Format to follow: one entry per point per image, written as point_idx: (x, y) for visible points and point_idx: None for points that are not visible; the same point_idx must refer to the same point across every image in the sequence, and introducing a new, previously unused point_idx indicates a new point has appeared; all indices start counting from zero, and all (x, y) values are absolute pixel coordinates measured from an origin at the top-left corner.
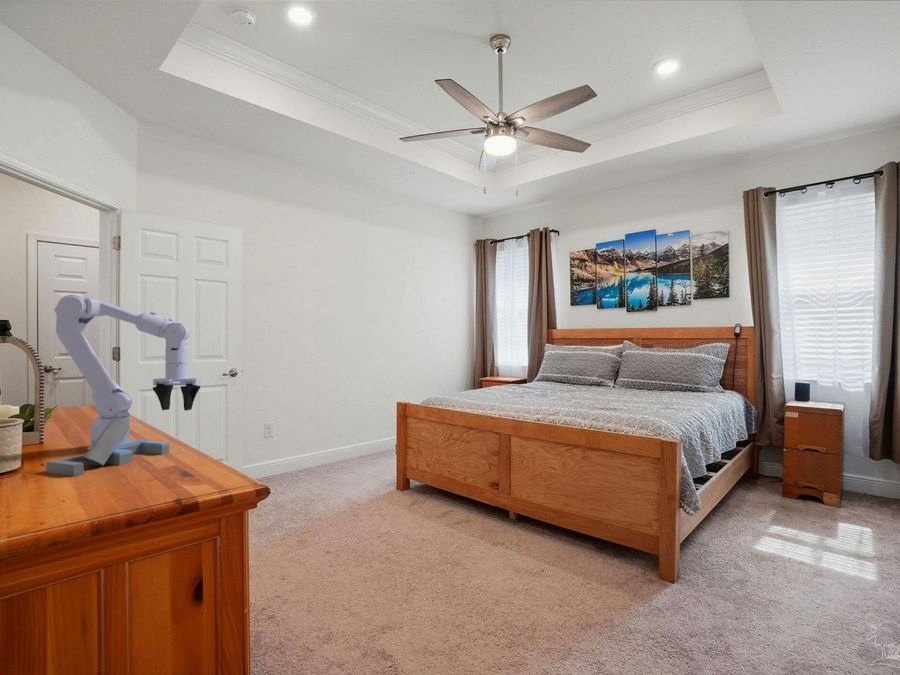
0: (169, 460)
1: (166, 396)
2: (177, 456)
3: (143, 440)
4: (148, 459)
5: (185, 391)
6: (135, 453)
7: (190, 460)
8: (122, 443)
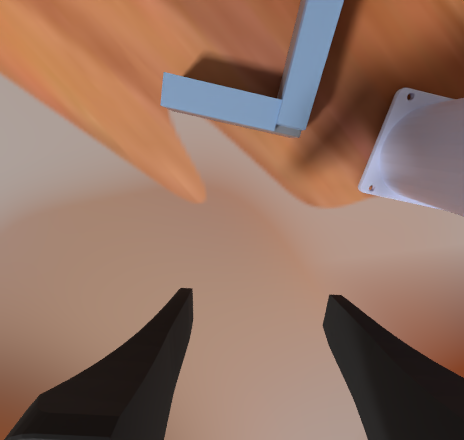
0: (87, 12)
1: (369, 389)
2: (115, 80)
3: (280, 108)
4: (176, 19)
5: (93, 378)
6: (281, 83)
7: (15, 23)
8: (321, 24)
